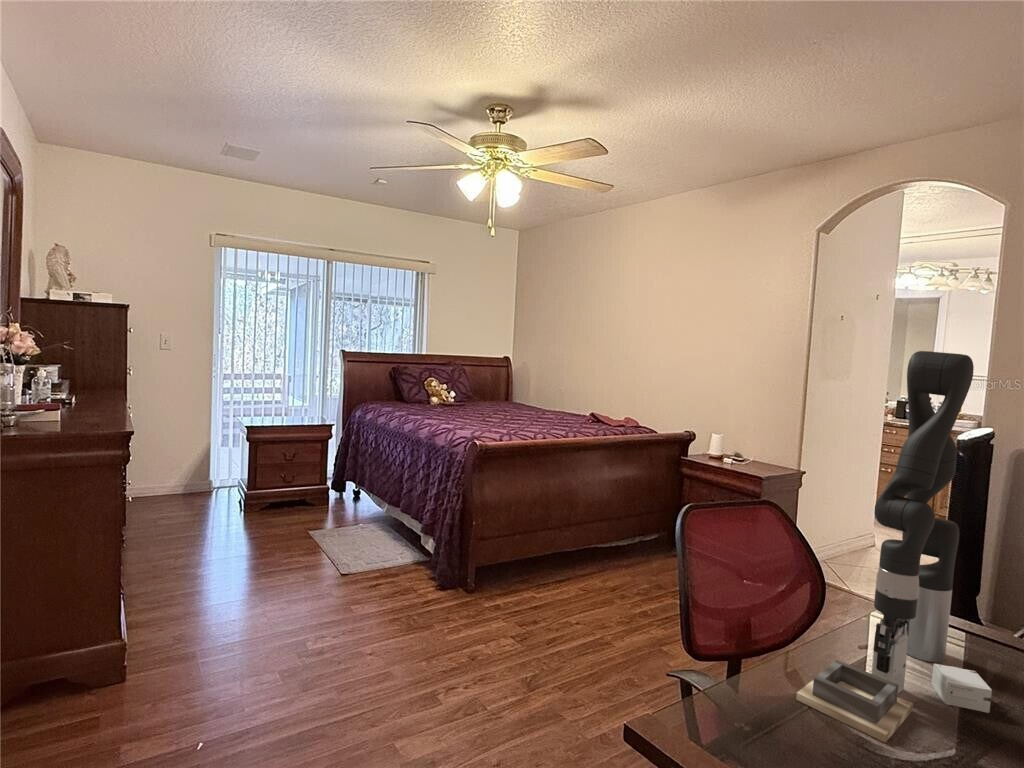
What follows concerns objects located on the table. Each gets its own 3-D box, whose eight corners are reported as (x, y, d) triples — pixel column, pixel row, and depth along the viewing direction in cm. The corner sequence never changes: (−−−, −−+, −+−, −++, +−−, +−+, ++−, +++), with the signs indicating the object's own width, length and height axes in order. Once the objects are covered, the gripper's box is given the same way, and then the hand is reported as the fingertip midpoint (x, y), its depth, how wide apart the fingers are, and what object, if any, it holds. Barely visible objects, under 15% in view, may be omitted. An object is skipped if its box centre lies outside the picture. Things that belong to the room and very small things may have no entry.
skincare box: (891, 698, 121) (897, 641, 120) (868, 686, 124) (873, 632, 124) (905, 689, 124) (910, 634, 123) (882, 679, 128) (887, 625, 127)
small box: (944, 705, 119) (947, 681, 119) (930, 684, 127) (932, 662, 127) (990, 714, 117) (993, 690, 117) (973, 693, 124) (975, 670, 124)
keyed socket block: (827, 674, 129) (829, 652, 128) (912, 710, 116) (914, 686, 116) (796, 699, 118) (798, 676, 118) (885, 742, 106) (887, 716, 106)
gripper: (887, 577, 130) (880, 647, 131) (864, 592, 121) (857, 667, 122) (927, 589, 125) (919, 662, 126) (906, 605, 115) (898, 684, 116)
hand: (889, 664), depth 124 cm, fingers open, 8 cm apart
